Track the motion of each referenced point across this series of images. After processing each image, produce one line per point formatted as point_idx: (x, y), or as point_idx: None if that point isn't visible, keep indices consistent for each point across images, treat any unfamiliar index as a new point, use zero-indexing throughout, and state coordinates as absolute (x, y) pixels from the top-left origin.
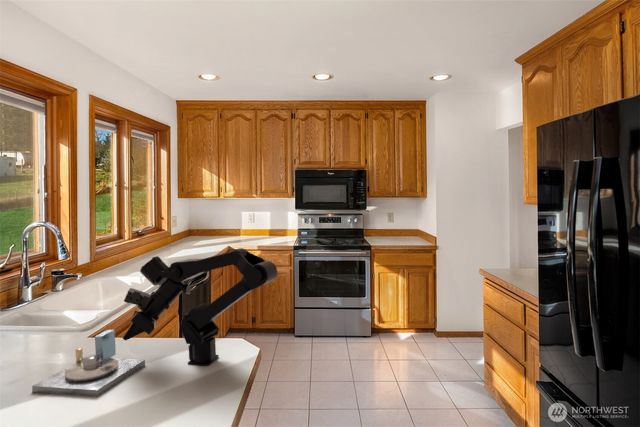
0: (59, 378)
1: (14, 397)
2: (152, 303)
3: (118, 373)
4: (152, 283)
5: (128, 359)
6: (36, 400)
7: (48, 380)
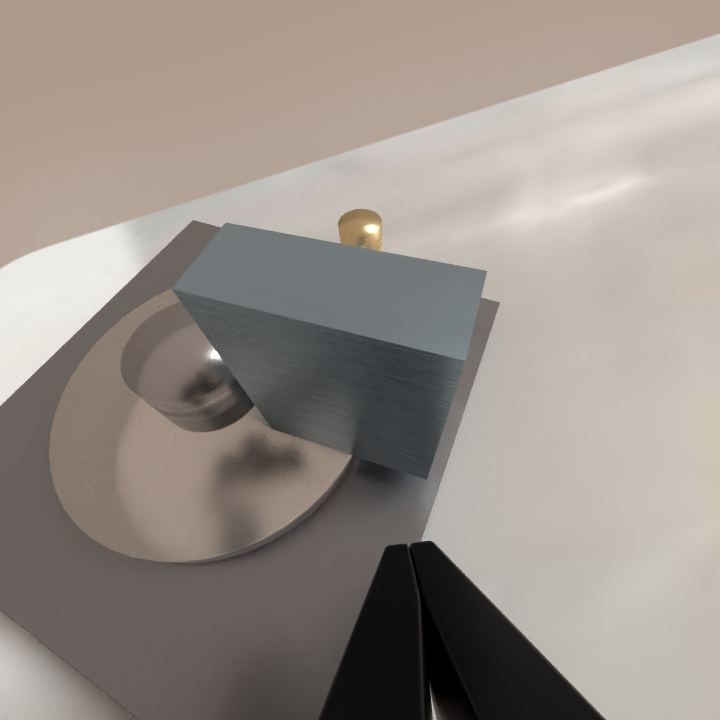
0: None
1: (198, 213)
2: None
3: (80, 603)
4: None
5: None
6: (120, 278)
7: None
